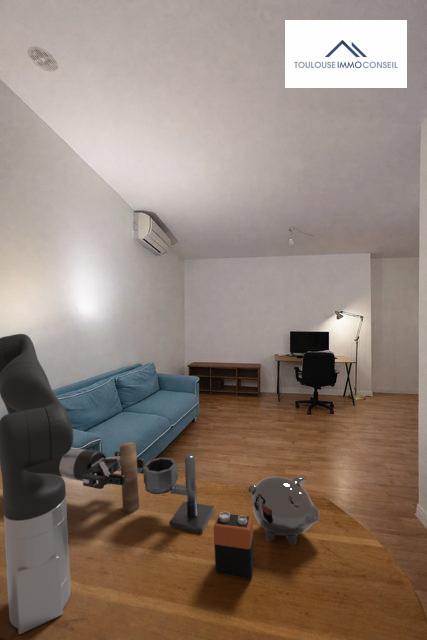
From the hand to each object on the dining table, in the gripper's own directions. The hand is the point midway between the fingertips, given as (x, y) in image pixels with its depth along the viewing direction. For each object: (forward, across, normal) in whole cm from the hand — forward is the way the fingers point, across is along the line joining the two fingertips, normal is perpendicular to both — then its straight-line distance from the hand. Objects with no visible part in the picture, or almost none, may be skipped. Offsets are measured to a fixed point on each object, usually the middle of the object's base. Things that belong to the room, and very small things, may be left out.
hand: (134, 471), depth 78 cm
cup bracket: (+11, 0, +10) cm, 15 cm away
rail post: (-2, 0, +10) cm, 10 cm away
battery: (+29, -11, +10) cm, 32 cm away
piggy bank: (+37, 0, +10) cm, 38 cm away
